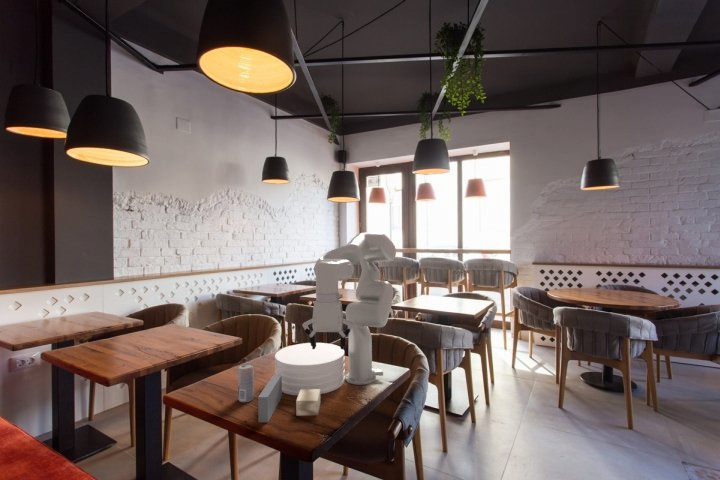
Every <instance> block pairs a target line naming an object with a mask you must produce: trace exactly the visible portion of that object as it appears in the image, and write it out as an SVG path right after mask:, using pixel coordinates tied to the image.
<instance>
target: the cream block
mask: <svg viewBox="0 0 720 480" xmlns="http://www.w3.org/2000/svg"><path fill="white" fill-rule="evenodd" d="M321 395H322V394H320V389H300V392H299V395H297V398H296V401H295V402H296V403H295V406H296V407H295V408H296V410H295V411H296V415H295V416H319V412H320V407H321V402H322V401H321V400H322V399H321V398H322V397H321Z"/></svg>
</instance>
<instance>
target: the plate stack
mask: <svg viewBox="0 0 720 480" xmlns="http://www.w3.org/2000/svg"><path fill="white" fill-rule="evenodd" d="M345 358H346V357H345V350H344V348H343V349H341V346H339V345H336V344H333V343H327V342H316V347H315V349H312V346H311V342H305V343H304V342H303V343H298V344H293V345H289V346H286V347H283V348H281V349H280V350H278V351H277V352H275V354H274V365H275V367H274V375H282V393H284V394H287V395H290V396H291V395H292V396H298V395H299V392H300V389H320V395H323V394H326V393H330V392H333V391H335V390H338V389H339V388H340V387H341V386H343V384H344V383H345V382H346V380H345V376H346V374H345V373H346V372H345V371H346V370H345V366H346V364H345V361H346V359H345Z"/></svg>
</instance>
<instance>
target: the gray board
mask: <svg viewBox="0 0 720 480" xmlns="http://www.w3.org/2000/svg"><path fill="white" fill-rule="evenodd" d="M282 397H283V392H282V375H275V374H273V375H272V377H271V378H270V380H269V381H267V383H266V385H265V387H264V388H263V389H262V391H261V392H260V394H259V396H257V404H258V405H257V407H258V408H257V411H258V413H257V414H258V418H257V419H258V420H257V421H258V423H269V421H270V419H271V417H272V415H273V414H274V412H275V410H276V408H277V407H278V405H279V403H280V401H281V400H282Z"/></svg>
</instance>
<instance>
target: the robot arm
mask: <svg viewBox="0 0 720 480" xmlns="http://www.w3.org/2000/svg"><path fill="white" fill-rule="evenodd" d="M396 254H397V248H396V246H395V244H394V242H393V241H392V240H391V239H390V238H389V237H388V236H387V235H386V234H384V233H383V232H378V231H377V232H376V231H375V232H372V231H371V232H370V231H369V232H360V233H357V234H356V235H355V236H354V237H353V238H352V239H351V240H350V241H349V242H348V243H347V244H345V245H342V246H339V247H337V248H334V249H331V250H329V251H327V252H325V253H324V254H322V256H320V257H319V258H318V259H317V260H316V262H315V263H314V267H313V272H314V275H315V297H316V298H315V301H314V303H313V310H312V318H310V319H309V320H307V321H304V322H303V323H302V328H303V329H304V331H305V333H306V334H307V335H308V336H309V338H310V343H311V346H312V349H315V347H316V343H317V335H316V333H338V334H339V335H340V347H341V349H343V350H344V347H346V337H347V336H348V341H347V342H348V373H346V374H345V382H347V383H349V384H351V385H356V386H362V385H365V386H366V385H369V384H372V383H374V382H375V381H376V380H377V376H384V370H381V369H380V368H373V367H374V365H373V354H372V353H373V352H372V351H373V349H372V348H373V345H372V344H373V343H372V333H371V332H370V329H369V328H370V327H371V328H384V327H385V326H386V324H387V323H388V321H389V320H388V319H389V316H390V311H391V308H392V303H393V299H394V287H393V285H392V284H391V282H389V281H386V280H380V279H381V271H380V269H379V268H378V266H377V265H376V264H375V263H374V262H392V261H394V259H395V258H396ZM358 263H360V268H361V274H360V277H359V281H358V283H357V287H356V291H355V298H356V300H358V301H352V302H350V303H348V304H347V306H346V308H345V318H344V314H343V305H342V301H341V300H340V299H343V298H344V297H343V294H340V292H339V281H341V282H342V281H348V280H351V278H352V277H353V275H354V272H355V268H354V265H355V264H358ZM309 325H312V330H311V329H310V328H309ZM344 325H346V326H347V329H345V330H344Z"/></svg>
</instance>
